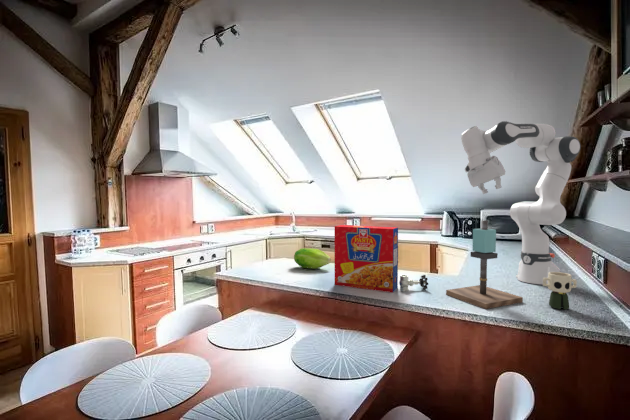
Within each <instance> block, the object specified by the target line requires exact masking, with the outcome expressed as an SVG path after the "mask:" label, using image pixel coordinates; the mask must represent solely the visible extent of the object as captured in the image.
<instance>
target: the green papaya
mask: <svg viewBox="0 0 630 420" xmlns="http://www.w3.org/2000/svg"><path fill="white" fill-rule="evenodd" d="M293 259H294V263H296V264H297V265H298V266H299V267H301V268H302V269H310V270H316V269H320V268H322V267H325V266H327V265H329V264H331V262H332V257H330V255H328V254H327V253H325V251H323V250H320V249H318V248H306V247H305V248H303V247H301V248H299V249H298V250H296V251H295V252H294V255H293Z"/></svg>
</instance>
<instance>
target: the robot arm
mask: <svg viewBox="0 0 630 420" xmlns="http://www.w3.org/2000/svg"><path fill="white" fill-rule="evenodd" d="M460 140H461V144H462V147H463V149H464V150H463V151H465V153H466V154H467V159H468V162H467V165H465V167H464V171H465V173H467V179H468V181H469V184H470V186H471V187H473V188H475V187H478V188H479V190H480V191H481V192H482V194H483V195H486V194H488V193H489V191H488V189H486V188H485V184H486V183H489V182H491V181H493V180H494V182H495V185H494V187H495V189H496V190H499V189H501V188H503V187H502V185H501V183H502V178H501V177H503V176H505V175H506V170H505V168H504V166H503V164H502V161H500V160H499V158H498V157H497V156H496V155H492V156H491V153H494V152H495V151H498V150H499V149H501V148H503V147H505V146H507V145H511V144H512V143H514V142H515V143H516V145H518V147H520V148H524V149H529V156H530V158H531V160H532V161H534V162H538V163H544V162H547V164H546V168H545V169H544V170H543V172H542V174H541V175H540V178H539V179H538V181H537V184H536V185H535V187H534V191H535V193H536V195H537V196H538V197H539V198H538V200H537V201H525V200H524V201H519V202H515V203H513V204H512V205H511V207H510V209H509V215H510V218H511V219H512V220H513V221H514V222H515V223H516V225H517V226H518V228H519V231H520V234H521V252H520V259H521V260H520V261H519V263H518V271H517V274H516V275H515V278H516V279H517V280H518V281H520V282H523V283H528V284H533V285H542V286H543V278H548V273H549V272H561V269H560V268H559V267H558V266H557V265H556V264H555V263H554V262H553V261H552V259H554V258H555V257H556V255H555V253H551V252H550V238H549V236H548V235H547V233H545V232H544V231H543V230H542V229H541V226H540V225H543V226H553V225H555V226H556V225H560V224H562V223H563V222H564V221H565V219H566V216H567V210H566V208H565V206H564V205H563V204H562V203H561V197H562V196H561V195H562V194H563V191H564V189H565V187H566V185H567V183H568V180H569V178H570V176H571V171H572V164H571V163H572V162H573V161H575V160H576V158H577V156H579V154H580V151H581V149H582V148H581V147H582V146H581V142H580V140H579V139H578V138H577V137H575V136H569V135H568V136H567V135H566V136H564V137H563V136H561V137H560V136H559V137H556V130H555V127H554V126H553V125H551V124H547V123H513V122H510V121H507V120H503V121H500V122H498V123H497V124H496V125H494V126H493V127H492V128H490V129H488V130H484V129H483V130H482V129H480V128H479V127H478V126H477V125H475V126H471V127H469V128H467V129H466V130H465V131H463V132H462V133H461V135H460ZM546 284H548V280H546Z"/></svg>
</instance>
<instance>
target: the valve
mask: <svg viewBox="0 0 630 420" xmlns="http://www.w3.org/2000/svg"><path fill="white" fill-rule="evenodd" d="M428 280H429V279H428V277H427V276H426V274H422V275H421V276H420V278H419V280H416V279H415V280H413V279H412V278H409V275H408V274H400V276H399V282H398V285H399V291H401V292H408V291H409V287H413V286H414V285H420V287H421V288H422V290H428V286H429V282H428Z"/></svg>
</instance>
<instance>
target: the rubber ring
mask: <svg viewBox="0 0 630 420" xmlns="http://www.w3.org/2000/svg"><path fill="white" fill-rule="evenodd" d="M471 257H472V258H475V259H487V260H493V259H498V252H490V253H485V254H484V253H481V252H477V251H470V258H471Z"/></svg>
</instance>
